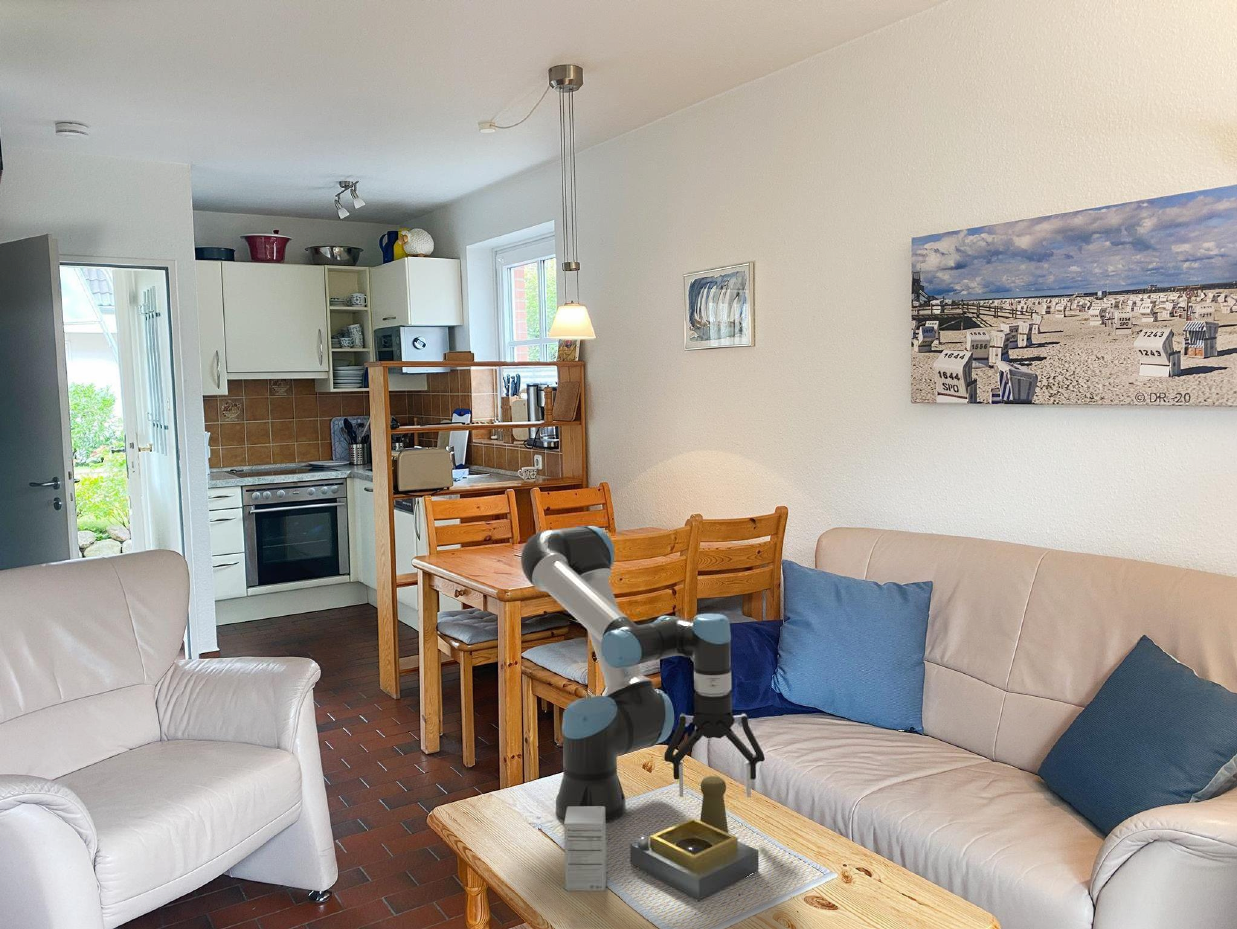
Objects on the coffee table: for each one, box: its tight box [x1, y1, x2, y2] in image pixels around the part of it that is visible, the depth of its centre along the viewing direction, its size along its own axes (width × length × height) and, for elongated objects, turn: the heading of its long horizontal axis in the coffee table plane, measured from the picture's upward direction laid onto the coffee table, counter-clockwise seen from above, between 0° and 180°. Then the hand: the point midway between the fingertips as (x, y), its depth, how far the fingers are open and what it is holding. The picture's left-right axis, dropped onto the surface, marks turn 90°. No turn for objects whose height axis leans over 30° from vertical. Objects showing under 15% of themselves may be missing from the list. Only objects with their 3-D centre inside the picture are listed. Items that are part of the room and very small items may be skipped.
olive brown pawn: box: [699, 775, 729, 834], centre depth 188 cm, size 6×6×11 cm
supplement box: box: [563, 806, 607, 892], centre depth 168 cm, size 7×7×13 cm
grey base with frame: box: [629, 817, 760, 903], centre depth 173 cm, size 18×16×6 cm
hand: (714, 794), depth 187 cm, fingers open, 13 cm apart
